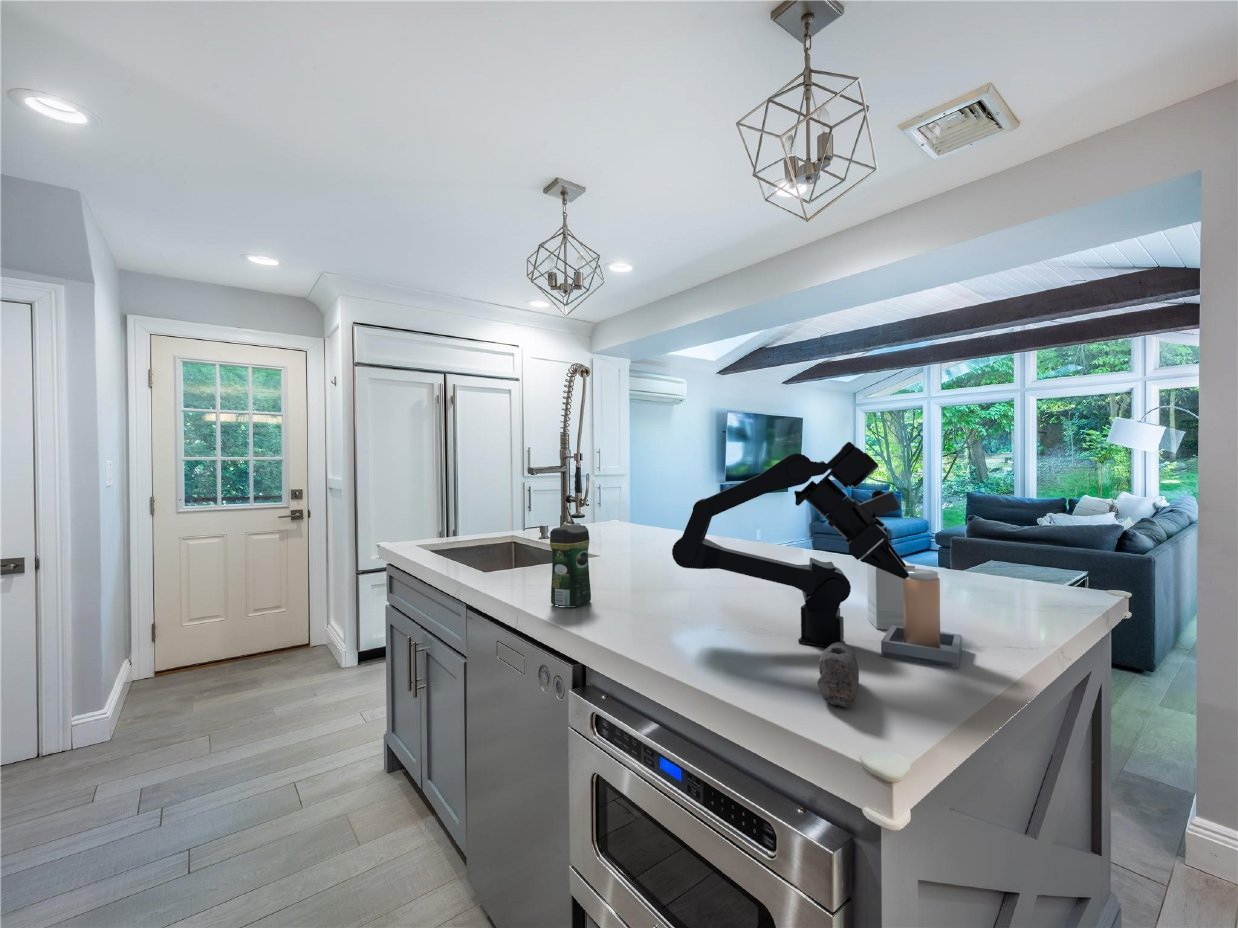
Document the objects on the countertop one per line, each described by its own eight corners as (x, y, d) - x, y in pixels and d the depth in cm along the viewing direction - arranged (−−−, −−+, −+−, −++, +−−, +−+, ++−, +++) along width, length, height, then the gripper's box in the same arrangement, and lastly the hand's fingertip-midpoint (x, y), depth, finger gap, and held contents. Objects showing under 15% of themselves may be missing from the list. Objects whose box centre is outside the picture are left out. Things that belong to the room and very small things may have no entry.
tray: (881, 655, 94) (881, 641, 94) (891, 638, 103) (891, 625, 103) (957, 668, 88) (957, 652, 88) (961, 649, 97) (961, 634, 97)
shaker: (912, 652, 93) (911, 574, 93) (898, 642, 98) (897, 568, 98) (946, 653, 92) (946, 574, 92) (930, 642, 98) (930, 568, 98)
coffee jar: (569, 597, 138) (568, 522, 138) (596, 601, 134) (595, 524, 134) (544, 606, 130) (543, 526, 130) (571, 610, 126) (570, 528, 126)
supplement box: (917, 631, 107) (916, 565, 107) (875, 629, 109) (874, 564, 109) (905, 620, 114) (904, 559, 114) (866, 619, 116) (866, 558, 116)
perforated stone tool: (825, 672, 87) (824, 627, 87) (862, 677, 85) (861, 631, 85) (814, 711, 73) (813, 658, 73) (857, 718, 71) (856, 664, 71)
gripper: (870, 476, 90) (950, 548, 85) (870, 474, 107) (937, 533, 102) (818, 523, 93) (893, 595, 88) (826, 514, 110) (889, 573, 106)
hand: (905, 572), depth 96 cm, fingers open, 9 cm apart
